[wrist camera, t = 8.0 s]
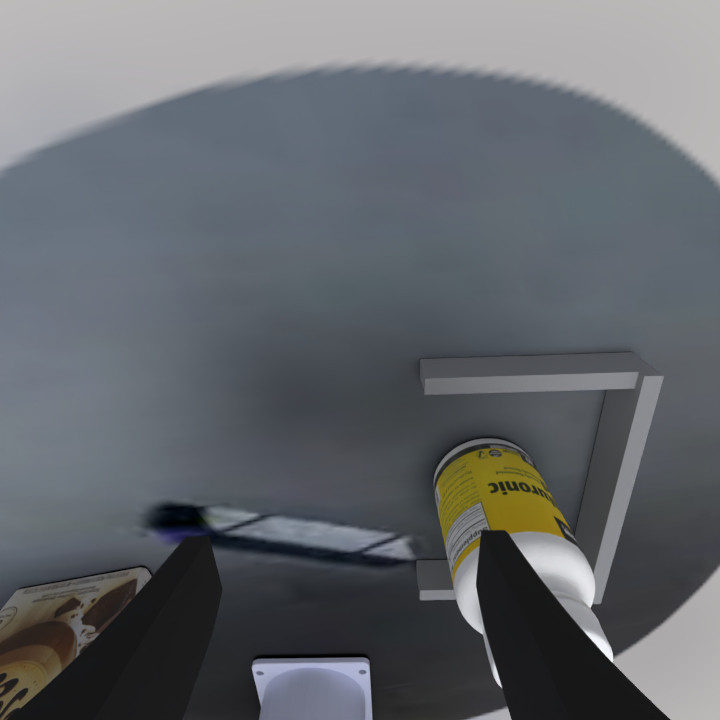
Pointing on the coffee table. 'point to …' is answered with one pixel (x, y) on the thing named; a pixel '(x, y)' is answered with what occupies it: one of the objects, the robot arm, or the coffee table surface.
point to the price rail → (611, 450)
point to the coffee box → (56, 629)
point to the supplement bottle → (510, 529)
